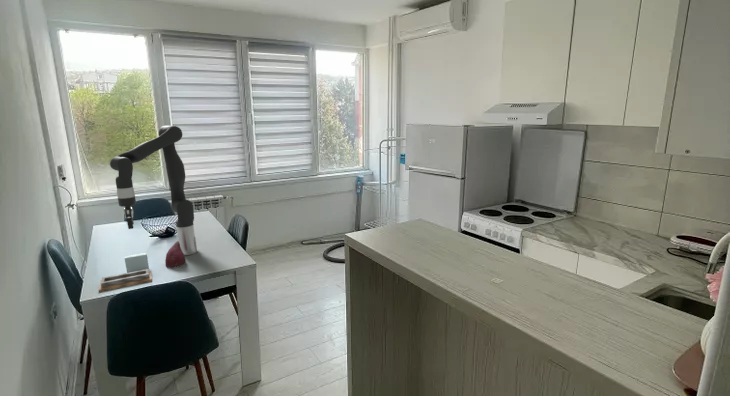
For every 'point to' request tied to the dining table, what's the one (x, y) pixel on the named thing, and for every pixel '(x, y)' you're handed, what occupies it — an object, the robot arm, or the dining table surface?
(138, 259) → the door panel
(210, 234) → the dining table surface
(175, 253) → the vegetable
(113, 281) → the track board
